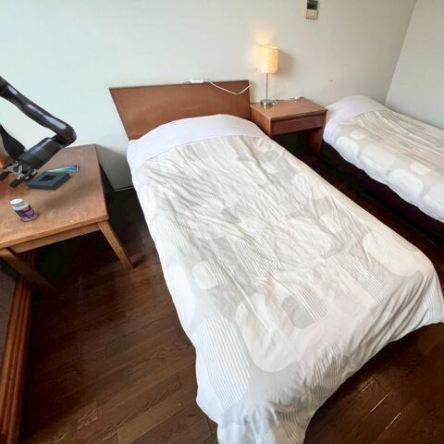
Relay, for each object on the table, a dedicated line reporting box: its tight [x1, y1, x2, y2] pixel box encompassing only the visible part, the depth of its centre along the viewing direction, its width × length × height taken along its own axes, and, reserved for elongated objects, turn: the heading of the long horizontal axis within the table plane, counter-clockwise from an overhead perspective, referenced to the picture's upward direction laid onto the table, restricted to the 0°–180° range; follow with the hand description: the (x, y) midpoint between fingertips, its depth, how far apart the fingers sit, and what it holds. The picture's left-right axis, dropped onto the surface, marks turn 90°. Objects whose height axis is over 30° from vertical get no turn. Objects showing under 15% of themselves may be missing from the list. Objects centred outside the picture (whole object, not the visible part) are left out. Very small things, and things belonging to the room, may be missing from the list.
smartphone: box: [46, 164, 79, 173], centre depth 145 cm, size 7×1×15 cm
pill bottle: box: [10, 198, 38, 222], centre depth 113 cm, size 5×5×10 cm
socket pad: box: [25, 170, 72, 191], centre depth 135 cm, size 13×13×3 cm
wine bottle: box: [0, 122, 28, 162], centre depth 135 cm, size 8×8×30 cm
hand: (4, 183), depth 106 cm, fingers open, 8 cm apart
